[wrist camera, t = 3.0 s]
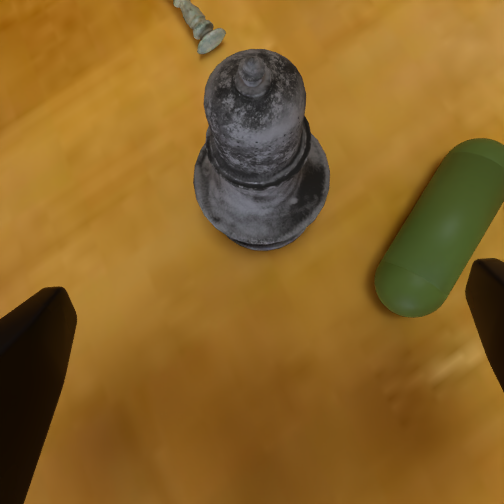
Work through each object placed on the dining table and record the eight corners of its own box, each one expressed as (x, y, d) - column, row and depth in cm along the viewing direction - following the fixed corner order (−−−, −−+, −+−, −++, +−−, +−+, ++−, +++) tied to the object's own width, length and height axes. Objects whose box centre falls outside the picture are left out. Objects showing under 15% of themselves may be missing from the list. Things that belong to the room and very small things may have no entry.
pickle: (413, 330, 21) (438, 332, 17) (355, 294, 21) (369, 289, 18) (505, 174, 22) (545, 149, 18) (448, 142, 22) (478, 112, 19)
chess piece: (191, 166, 22) (99, -5, 11) (297, 130, 22) (325, -83, 11) (226, 272, 21) (170, 214, 10) (338, 234, 21) (417, 128, 10)
